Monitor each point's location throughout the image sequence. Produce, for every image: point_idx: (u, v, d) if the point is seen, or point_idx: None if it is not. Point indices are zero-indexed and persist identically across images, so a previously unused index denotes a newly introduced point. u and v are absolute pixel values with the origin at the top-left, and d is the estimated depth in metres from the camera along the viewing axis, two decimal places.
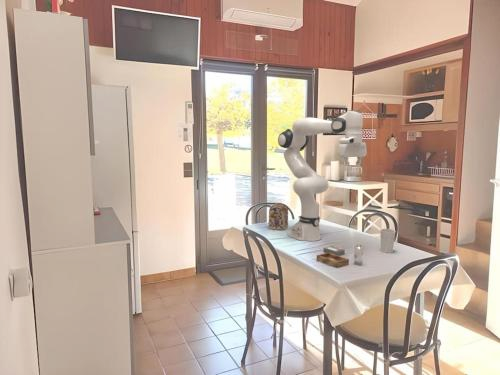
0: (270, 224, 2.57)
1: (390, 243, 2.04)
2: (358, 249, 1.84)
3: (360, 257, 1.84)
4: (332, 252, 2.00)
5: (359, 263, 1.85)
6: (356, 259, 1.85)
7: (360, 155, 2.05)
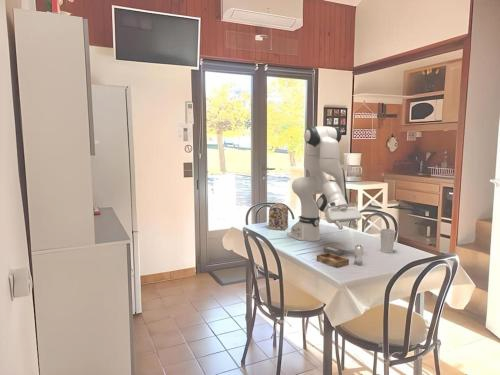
0: (270, 224, 2.57)
1: (390, 243, 2.04)
2: (358, 249, 1.84)
3: (360, 257, 1.84)
4: (332, 252, 2.00)
5: (359, 263, 1.85)
6: (356, 259, 1.85)
7: (353, 217, 1.98)
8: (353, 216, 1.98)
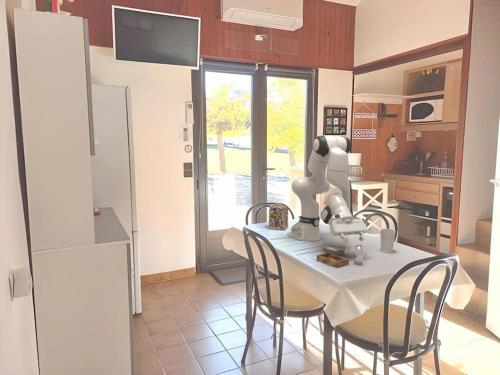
0: (270, 224, 2.57)
1: (390, 243, 2.04)
2: (358, 249, 1.84)
3: (360, 257, 1.84)
4: (332, 252, 2.00)
5: (359, 263, 1.85)
6: (356, 259, 1.85)
7: (358, 229, 1.92)
8: (358, 229, 1.92)
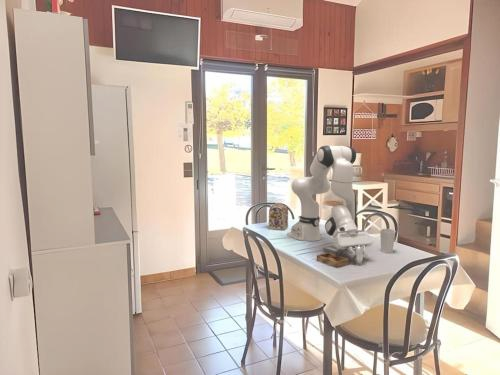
0: (270, 224, 2.57)
1: (390, 243, 2.04)
2: (358, 249, 1.84)
3: (360, 257, 1.84)
4: (332, 252, 2.00)
5: (359, 263, 1.85)
6: (356, 259, 1.85)
7: (363, 242, 1.88)
8: (364, 242, 1.89)
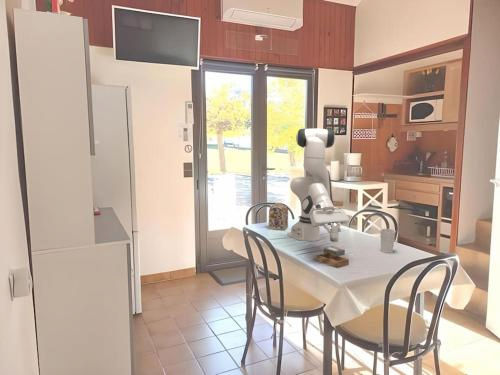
0: (270, 224, 2.57)
1: (390, 243, 2.04)
2: (334, 226, 1.84)
3: (336, 234, 1.84)
4: (332, 252, 2.00)
5: (335, 240, 1.85)
6: (332, 236, 1.85)
7: (339, 220, 1.89)
8: (339, 219, 1.89)
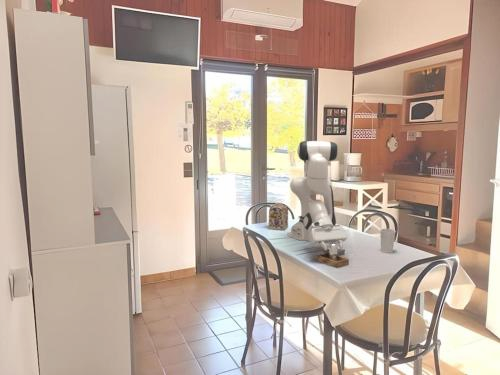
0: (270, 224, 2.57)
1: (390, 243, 2.04)
2: (332, 246, 1.85)
3: (334, 254, 1.86)
4: None
5: None
6: (330, 256, 1.87)
7: (338, 237, 1.90)
8: (338, 236, 1.90)
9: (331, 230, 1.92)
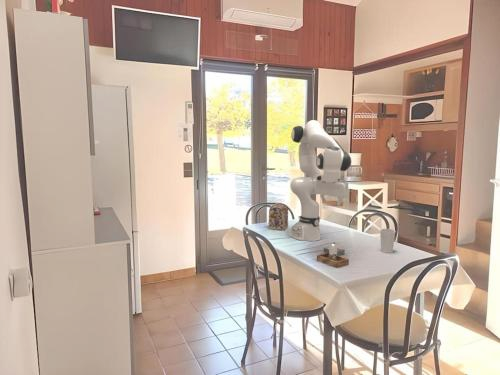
0: (270, 224, 2.57)
1: (390, 243, 2.04)
2: (332, 246, 1.85)
3: (334, 254, 1.86)
4: None
5: None
6: (330, 256, 1.86)
7: (335, 195, 1.90)
8: (335, 194, 1.90)
9: (332, 186, 1.91)
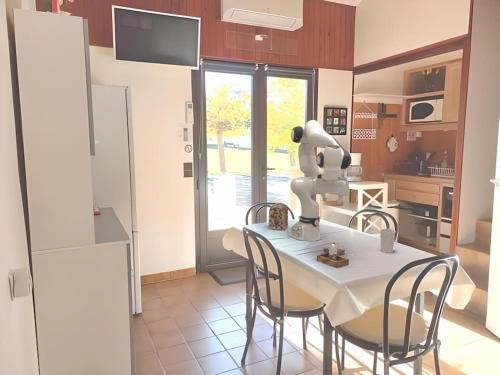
0: (270, 224, 2.57)
1: (390, 243, 2.04)
2: (332, 246, 1.85)
3: (334, 254, 1.86)
4: None
5: None
6: (330, 256, 1.86)
7: (335, 193, 1.90)
8: (336, 192, 1.90)
9: (333, 184, 1.91)
